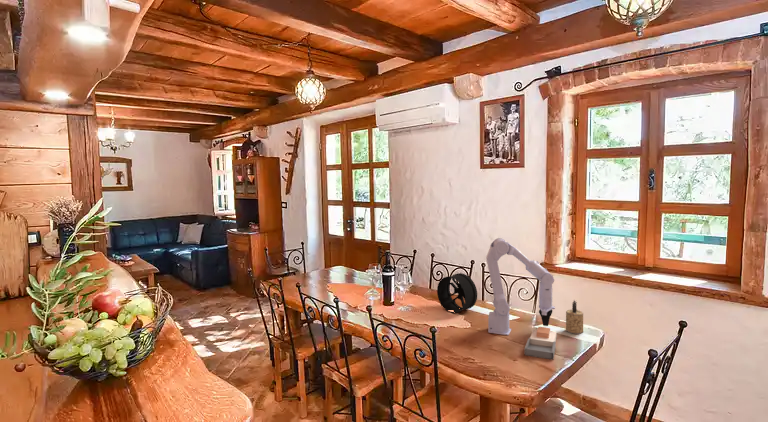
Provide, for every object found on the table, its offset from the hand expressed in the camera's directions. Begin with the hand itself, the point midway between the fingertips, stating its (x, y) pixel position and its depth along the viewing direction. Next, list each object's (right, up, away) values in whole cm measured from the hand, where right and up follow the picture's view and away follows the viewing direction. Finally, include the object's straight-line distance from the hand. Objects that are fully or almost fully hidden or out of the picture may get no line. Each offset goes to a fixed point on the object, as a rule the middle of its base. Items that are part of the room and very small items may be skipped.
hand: (545, 325), depth 191 cm
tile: (-4, -2, -9) cm, 10 cm away
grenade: (+14, -3, 0) cm, 14 cm away
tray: (-10, -5, -20) cm, 23 cm away
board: (-5, -4, -9) cm, 11 cm away
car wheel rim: (-35, -2, +34) cm, 49 cm away
